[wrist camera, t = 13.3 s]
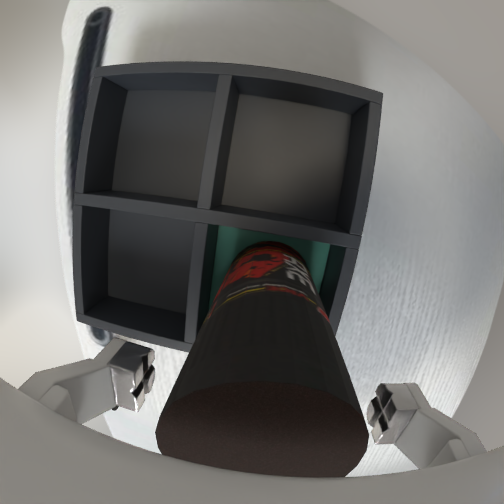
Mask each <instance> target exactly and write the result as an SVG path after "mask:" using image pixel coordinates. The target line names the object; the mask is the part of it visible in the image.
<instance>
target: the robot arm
mask: <svg viewBox="0 0 504 504" xmlns="http://www.w3.org/2000/svg"><path fill="white" fill-rule="evenodd" d="M154 359H155V356H154V350H153V349H151V348H148V347H144V346H141V345H138V344H135V343H132V342H127V341H125V340H122V339H119V338H113V339H112V340H111V341H110V342H109V343H108V344H107V345H106V346H105V348H104V349H103V350H102V351H101V352H100V353H99V354H98V355H97V356H96V357H95V358H94V359H90V358H89V359H86V360H82V361H79V362H75V363H71V364H67V365H64V366H59V367H56V368H52V369H48V370H43V371H40V372H36V373H35V374H33V375H32V376H31V377H30V378H29V379H28V380H27V381H26V382H25V383H24V384H23V385H22V386H21V387H20V388H19V389H16V388H15V387H13V386H11V385H10V384H9V383H7V382H5V381H4V380H3V379H1V378H0V504H504V446H502V447H499V448H496V449H494V450H491V451H488V452H487V451H486V450H485V448H484V446H483V444H482V443H481V441H480V440H479V438H478V436H477V435H476V433H474V432H472V431H471V430H469V429H467V428H466V427H464V426H463V425H461V424H459V423H458V422H456V421H454V420H453V419H451V418H450V417H448V416H446V415H445V414H443V413H442V412H440V411H438V410H437V409H435V408H431V407H430V405H429V403H428V401H427V400H426V398H425V396H424V395H423V393H422V391H421V390H420V388H419V386H418V385H417V384H416V383H403V384H391V383H381V384H380V385H379V386H378V387H377V389H376V391H375V392H376V395H377V396H376V397H375V398H374V399H372V400H371V401H370V404H369V406H368V409H367V420H368V424H370V425H371V426H372V427H373V429H372V431H371V433H372V436H373V439H374V442H375V444H394V445H395V446H396V447H397V448H398V449H399V450H400V451H401V452H402V453H404V454H405V455H406V456H407V457H408V458H409V459H410V460H411V461H412V462H413V463H414V464H415V465H416V466H417V467H418V468H419V469H418V470H412V471H406V472H399V473H391V474H383V475H373V476H360V477H339V478H309V477H287V476H274V475H263V474H255V473H247V472H240V471H233V470H227V469H222V468H216V467H211V466H206V465H201V464H197V463H192V462H188V461H184V460H180V459H176V458H173V457H169V456H165V455H162V454H159V453H155V452H152V451H149V450H146V449H143V448H140V447H137V446H134V445H131V444H128V443H125V442H123V441H120V440H117V439H115V438H112V437H110V436H107V435H105V434H102V433H100V432H97V431H95V430H92V429H90V428H88V427H86V426H84V425H82V423H85V422H87V421H89V420H90V419H92V418H94V417H97V416H98V415H100V414H102V413H104V412H106V411H108V410H110V409H112V408H114V407H116V405H117V406H120V407H123V408H126V409H130V410H133V411H136V412H139V410H140V408H141V406H142V404H143V403H144V401H145V395H144V394H147V393H149V392H150V390H151V388H152V386H153V382H154V378H155V368H154V367H153V365H152V362H153V361H154Z"/></svg>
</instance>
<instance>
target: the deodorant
mask: <svg viewBox="0 0 504 504" xmlns="http://www.w3.org/2000/svg"><path fill="white" fill-rule="evenodd" d="M155 434H156V439H157V444H158V448H159V450H160V452H161V453H162V455H165V456H169V457H173V458H176V459H180V460H184V461H188V462H192V463H197V464H201V465H206V466H211V467H216V468H222V469H227V470H233V471H240V472H247V473H255V474H263V475H274V476H287V477H309V478H339V477H345V476H346V475H347V474H348V473H350V472H351V471H352V470H353V469H354V468H355V467H356V466H357V465H358V464H359V462H360V460H361V459H362V457H363V456H364V454H365V452H366V450H367V445H368V439H369V433H368V430H367V426H366V423H365V420H364V417H363V414H362V411H361V408H360V405H359V402H358V399H357V396H356V393H355V390H354V387H353V384H352V382H351V379H350V376H349V373H348V370H347V368H346V365H345V362H344V359H343V357H342V354H341V351H340V348H339V346H338V343H337V340H336V338H335V335H334V332H333V330H332V327H331V325H330V322H329V319H328V317H327V314H326V312H325V309H324V307H323V304H322V301H321V299H320V296H319V294H318V291H317V289H316V286H315V284H314V281H313V279H312V277H311V274H310V272H309V269H308V267H307V264H306V262H305V260H304V259H303V258H302V256H301V255H300V254H299V252H297V251H296V250H295V249H293V248H292V247H291V246H289V245H286V244H284V243H281V242H276V241H262V242H257V243H254V244H252V245H250V246H247V247H246V248H245V249H243V250H242V251H241V252H240V253H238V255H237V256H236V257H235V259H234V260H233V262H232V264H231V266H230V268H229V270H228V272H227V274H226V276H225V278H224V280H223V282H222V284H221V286H220V289H219V291H218V293H217V295H216V297H215V299H214V301H213V303H212V305H211V307H210V310H209V312H208V314H207V316H206V318H205V320H204V322H203V324H202V327H201V329H200V331H199V333H198V335H197V337H196V339H195V341H194V344H193V346H192V348H191V350H190V352H189V354H188V356H187V359H186V361H185V363H184V365H183V367H182V369H181V371H180V374H179V376H178V378H177V380H176V382H175V384H174V387H173V389H172V391H171V393H170V395H169V397H168V400H167V402H166V404H165V406H164V408H163V411H162V413H161V415H160V417H159V421H158V424H157V428H156V431H155Z"/></svg>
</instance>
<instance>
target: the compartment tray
mask: <svg viewBox="0 0 504 504" xmlns="http://www.w3.org/2000/svg"><path fill="white" fill-rule="evenodd" d="M382 99H383V93H381V92H378V91H375V90H372V89H368V88H365V87H361V86H358V85H354V84H350V83H346V82H342V81H338V80H334V79H330V78H326V77H321V76H316V75H311V74H306V73H301V72H295V71H289V70H283V69H277V68H270V67H262V66H253V65H243V64H232V63H217V62H146V63H131V64H120V65H110V66H102V67H96V70H95V74H94V78H93V82H92V86H91V90H90V94H89V98H88V103H87V108H86V112H85V118H84V123H83V128H82V134H81V141H80V147H79V155H78V162H77V171H76V181H75V193H74V208H73V280H74V296H75V308H76V317H77V321H79V322H82V323H85V324H88V325H91V326H94V327H97V328H100V329H103V330H106V331H109V332H113V333H116V334H119V335H123V336H126V337H130V338H133V339H137V340H141V341H144V342H148V343H152V344H156V345H160V346H164V347H168V348H172V349H176V350H180V351H185V352H190V350H191V348H192V346H193V344H194V341H195V339H196V337H197V335H198V333H199V331H200V329H201V327H202V324H203V322H204V320H205V318H206V316H207V314H208V312H209V310H210V307H211V305H212V303H213V301H214V299H215V297H216V295H217V293H218V291H219V289H220V286H221V284H222V282H223V280H224V278H225V276H226V274H227V272H228V270H229V268H230V266H231V264H232V262H233V260H234V259H235V257H236V256H237V255H238V253H240V252H241V251H242V250H243V249H245V248H246V247H247V246H250V245H252V244H254V243H257V242H262V241H276V242H281V243H284V244H286V245H289V246H291V247H292V248H293V249H295V250H296V251H297V252H299V254H300V255H301V256H302V258H303V259H304V260H305V262H306V264H307V267H308V269H309V272H310V274H311V277H312V279H313V281H314V284H315V286H316V289H317V291H318V294H319V296H320V299H321V301H322V304H323V307H324V309H325V312H326V314H327V317H328V319H329V322H330V325H331V327H332V330H333V332H334V335H336V332H337V329H338V325H339V322H340V319H341V315H342V312H343V309H344V305H345V302H346V298H347V294H348V291H349V287H350V283H351V279H352V275H353V271H354V267H355V263H356V259H357V255H358V251H359V250H358V249H359V246H360V242H361V235H362V232H363V227H364V222H365V217H366V212H367V207H368V202H369V196H370V190H371V185H372V179H373V172H374V166H375V159H376V152H377V144H378V136H379V128H380V119H381V109H382Z"/></svg>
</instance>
